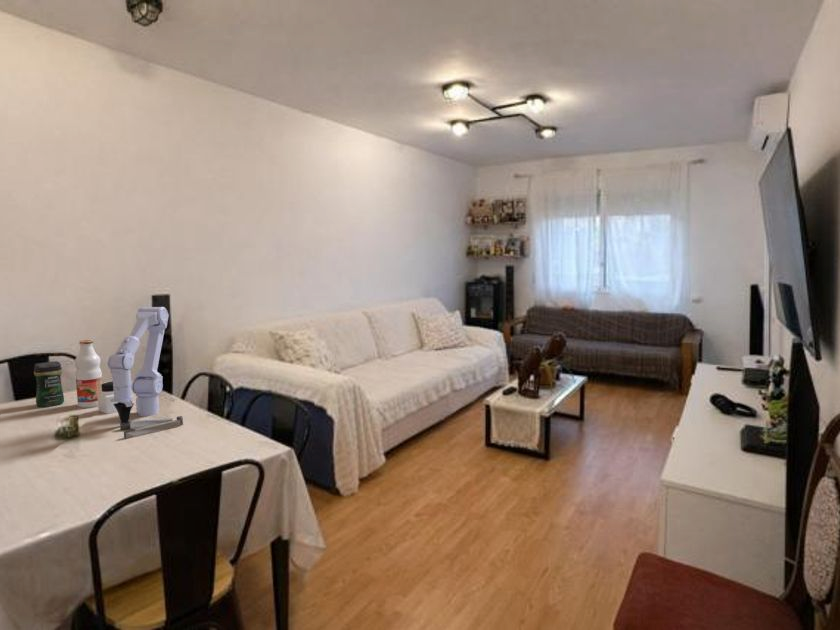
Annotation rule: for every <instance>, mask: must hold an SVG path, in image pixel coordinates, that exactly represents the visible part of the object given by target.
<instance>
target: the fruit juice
mask: <svg viewBox="0 0 840 630" xmlns="http://www.w3.org/2000/svg"><path fill="white" fill-rule="evenodd" d="M78 343H79V346H80V350H79V352H78V355H77V357H76V358H75V359H74V365H75V367H76V371H75V386H76V396H77V397H76V398H77V405H78V406H77V407H79V408H80V409H81V408H83V409H89V408H95V407H98V394H102V387H101V385H102V384H103V383H104V382H103V373H102V369H101V361H102V360H101V357H100V356H99V355H98V354H97V353H96V351H95V349H94V340H93V339H85V340H83V339H82V340H79V342H78Z"/></svg>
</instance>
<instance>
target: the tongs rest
mask: <svg viewBox="0 0 840 630" xmlns="http://www.w3.org/2000/svg"><path fill="white" fill-rule="evenodd" d="M183 425H184V420H183V416H182V415H179V416H177V417H176V420H174V419H173V421H170V422H165V423H161V424H156V425H152V426H147V427H143V428H138V429H128V430H126V431H125V430H124V431H123V437H124V439H126V440H127V439H131V438H134V437H140V436H144V435H148V434H153V433H156V432H161V431H166V430H169V429H174V428H179V427H181V426H183Z"/></svg>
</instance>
